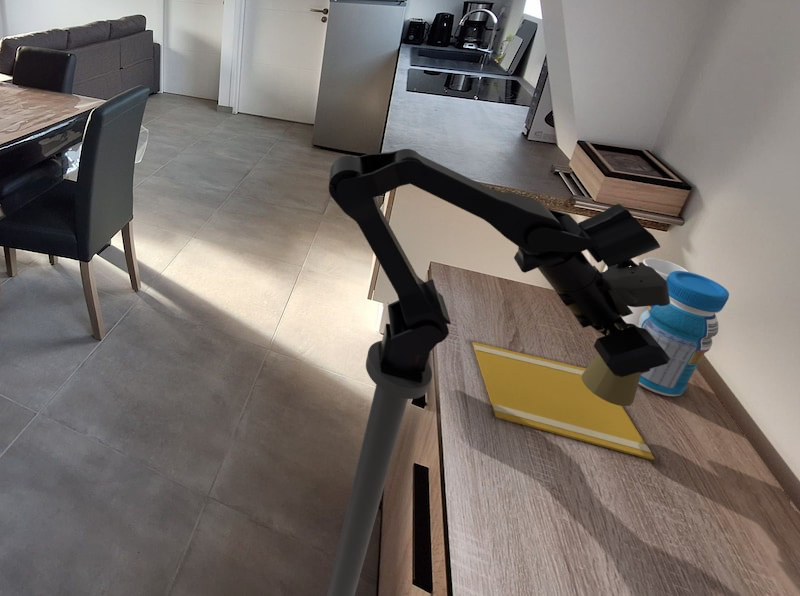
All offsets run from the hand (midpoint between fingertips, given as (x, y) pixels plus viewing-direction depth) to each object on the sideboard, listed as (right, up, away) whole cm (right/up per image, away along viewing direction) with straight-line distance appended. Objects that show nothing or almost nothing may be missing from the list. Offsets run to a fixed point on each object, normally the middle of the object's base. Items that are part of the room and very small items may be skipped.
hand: (634, 357), depth 65 cm
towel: (-5, -10, +9) cm, 15 cm away
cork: (-2, -6, +3) cm, 7 cm away
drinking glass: (+23, -6, +24) cm, 34 cm away
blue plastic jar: (+15, -10, +13) cm, 23 cm away
